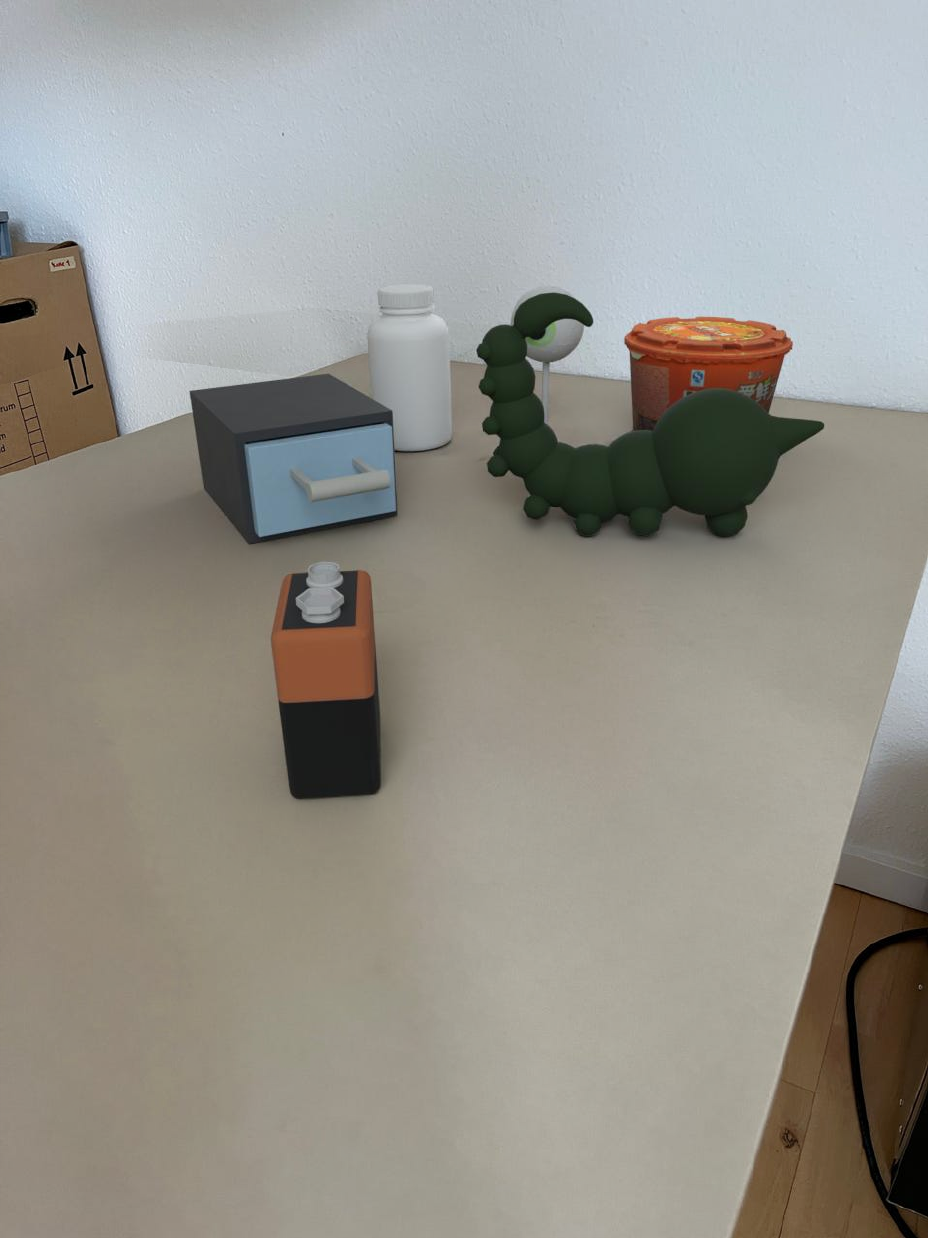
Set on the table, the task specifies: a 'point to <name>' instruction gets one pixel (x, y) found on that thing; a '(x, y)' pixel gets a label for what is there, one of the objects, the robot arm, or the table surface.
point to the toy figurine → (629, 443)
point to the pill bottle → (411, 366)
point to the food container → (701, 362)
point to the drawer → (320, 477)
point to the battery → (328, 682)
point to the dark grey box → (271, 434)
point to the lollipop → (551, 340)
